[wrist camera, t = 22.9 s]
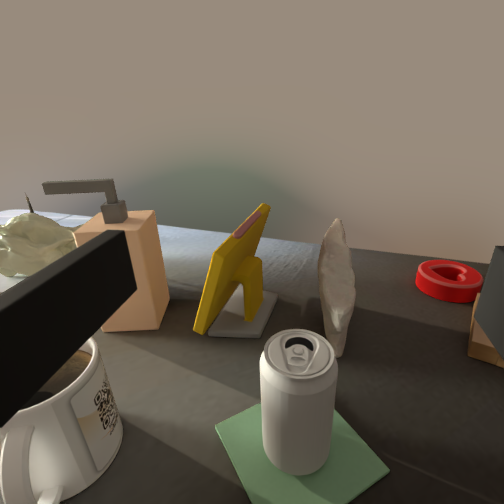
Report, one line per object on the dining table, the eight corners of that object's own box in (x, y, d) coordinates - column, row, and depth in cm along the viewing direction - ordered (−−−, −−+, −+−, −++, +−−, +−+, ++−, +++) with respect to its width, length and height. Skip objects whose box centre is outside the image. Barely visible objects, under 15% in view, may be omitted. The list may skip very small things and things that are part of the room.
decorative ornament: (409, 272, 61) (412, 257, 60) (465, 275, 59) (470, 260, 58) (423, 300, 53) (427, 283, 51) (489, 305, 51) (495, 288, 49)
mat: (389, 472, 29) (390, 469, 29) (276, 556, 24) (277, 553, 24) (307, 381, 38) (307, 379, 38) (215, 427, 33) (214, 425, 33)
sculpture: (311, 297, 55) (315, 214, 48) (338, 298, 54) (346, 213, 48) (321, 371, 40) (329, 264, 33) (359, 372, 39) (375, 264, 33)
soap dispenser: (170, 298, 56) (147, 171, 47) (158, 329, 48) (129, 185, 39) (97, 301, 56) (60, 175, 47) (74, 333, 48) (24, 190, 39)
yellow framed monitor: (243, 279, 61) (239, 199, 54) (284, 285, 59) (284, 202, 52) (195, 351, 44) (180, 246, 37) (249, 362, 42) (243, 253, 35)
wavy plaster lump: (81, 290, 73) (102, 228, 70) (42, 311, 60) (65, 235, 57) (7, 259, 72) (25, 195, 69) (-49, 273, 59) (-30, 195, 56)
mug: (148, 424, 34) (127, 343, 29) (47, 562, 24) (-10, 473, 19) (75, 397, 38) (46, 321, 33) (-40, 507, 28) (-106, 420, 23)
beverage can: (328, 420, 33) (337, 328, 28) (330, 487, 27) (341, 386, 22) (268, 412, 34) (265, 321, 29) (257, 474, 29) (252, 375, 24)
